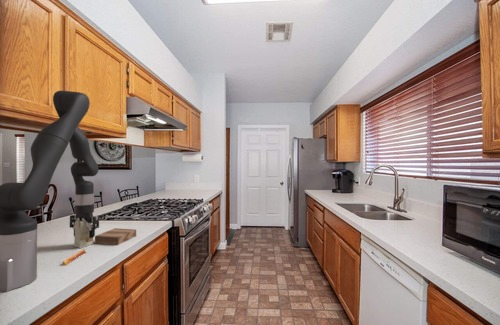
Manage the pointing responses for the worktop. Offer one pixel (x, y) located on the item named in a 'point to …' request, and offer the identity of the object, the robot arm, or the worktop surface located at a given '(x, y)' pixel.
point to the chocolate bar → (73, 257)
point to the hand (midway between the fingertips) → (84, 237)
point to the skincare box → (82, 235)
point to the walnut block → (115, 236)
